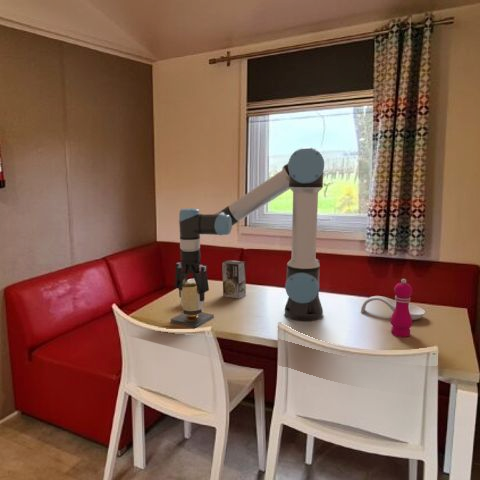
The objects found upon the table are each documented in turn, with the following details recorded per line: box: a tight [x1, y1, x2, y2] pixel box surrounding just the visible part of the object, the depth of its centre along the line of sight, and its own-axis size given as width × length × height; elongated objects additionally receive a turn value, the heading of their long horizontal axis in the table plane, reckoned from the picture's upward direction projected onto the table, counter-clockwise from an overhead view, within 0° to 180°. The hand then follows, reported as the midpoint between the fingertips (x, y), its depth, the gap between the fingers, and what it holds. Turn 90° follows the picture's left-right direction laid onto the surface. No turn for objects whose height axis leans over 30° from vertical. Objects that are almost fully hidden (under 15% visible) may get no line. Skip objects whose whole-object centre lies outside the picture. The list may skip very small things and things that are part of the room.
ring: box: [182, 308, 203, 315], centre depth 156 cm, size 7×7×2 cm
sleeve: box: [182, 282, 199, 311], centre depth 155 cm, size 7×7×9 cm
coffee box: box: [221, 259, 247, 300], centre depth 185 cm, size 9×6×16 cm
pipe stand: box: [170, 311, 215, 329], centre depth 156 cm, size 12×12×11 cm
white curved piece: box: [360, 295, 426, 321], centre depth 159 cm, size 24×12×7 cm, turn 66°
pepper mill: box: [389, 278, 414, 338], centre depth 140 cm, size 7×7×20 cm
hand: (192, 307), depth 156 cm, fingers closed on sleeve, 7 cm apart
